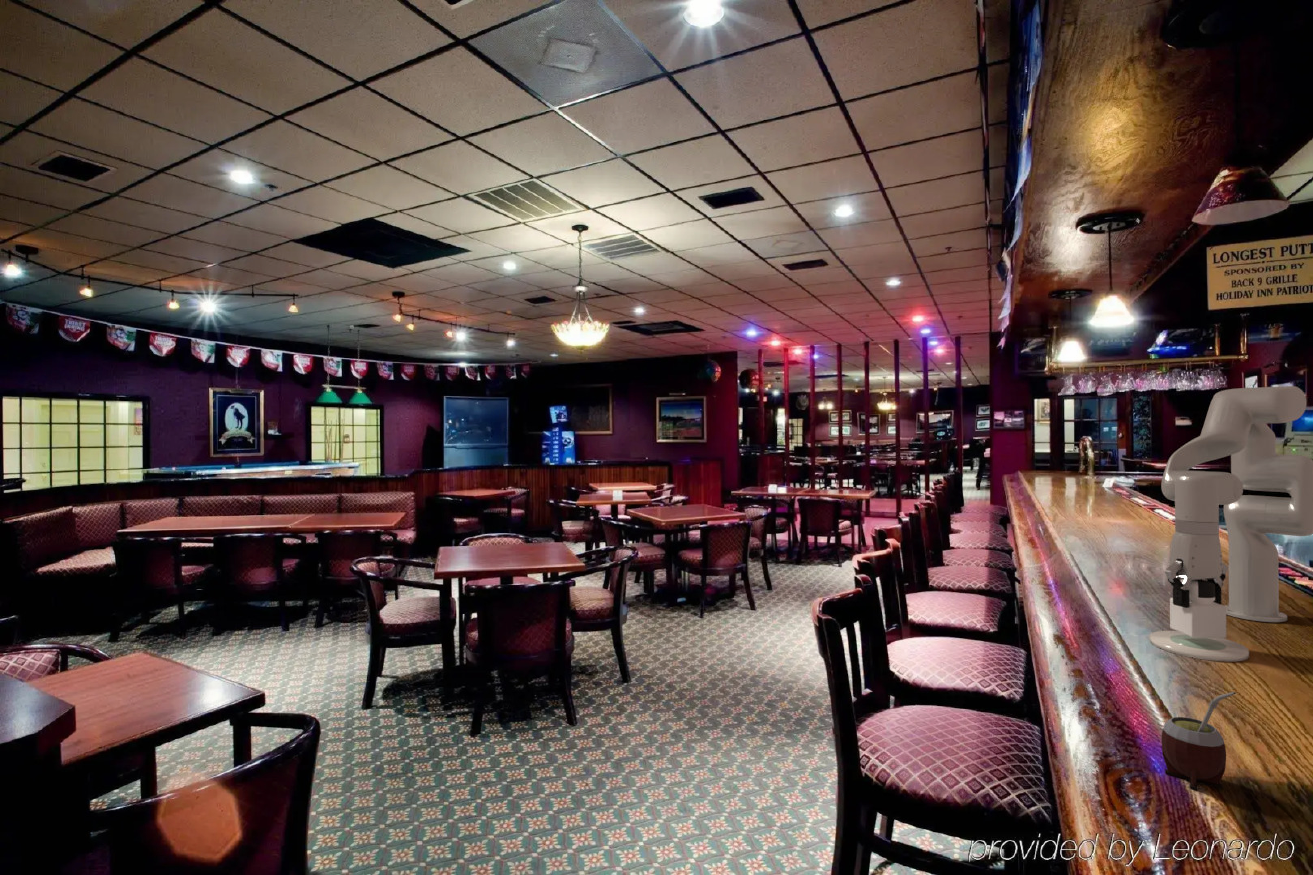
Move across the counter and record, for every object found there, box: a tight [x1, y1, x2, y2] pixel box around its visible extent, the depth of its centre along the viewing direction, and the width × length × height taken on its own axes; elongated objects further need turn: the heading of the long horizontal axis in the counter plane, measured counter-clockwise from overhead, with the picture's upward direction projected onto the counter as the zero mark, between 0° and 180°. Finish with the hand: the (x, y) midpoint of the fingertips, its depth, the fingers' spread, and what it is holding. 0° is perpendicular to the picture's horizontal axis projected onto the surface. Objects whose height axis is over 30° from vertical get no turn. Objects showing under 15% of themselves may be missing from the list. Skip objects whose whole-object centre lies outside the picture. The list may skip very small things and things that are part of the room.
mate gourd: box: [1161, 691, 1237, 792], centre depth 89 cm, size 8×8×15 cm
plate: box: [1149, 630, 1250, 663], centre depth 143 cm, size 17×17×1 cm
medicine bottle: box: [1169, 579, 1227, 639], centre depth 142 cm, size 7×7×12 cm
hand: (1197, 604), depth 142 cm, fingers closed on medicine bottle, 8 cm apart
